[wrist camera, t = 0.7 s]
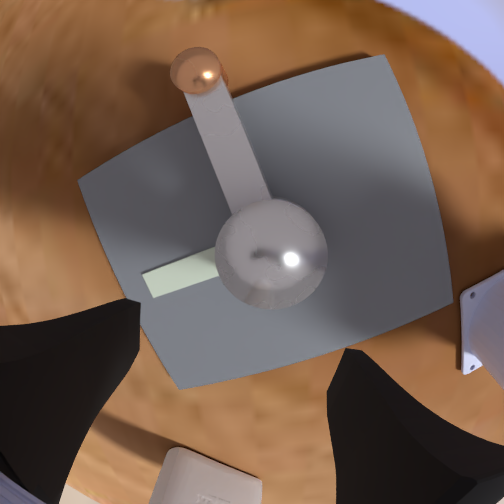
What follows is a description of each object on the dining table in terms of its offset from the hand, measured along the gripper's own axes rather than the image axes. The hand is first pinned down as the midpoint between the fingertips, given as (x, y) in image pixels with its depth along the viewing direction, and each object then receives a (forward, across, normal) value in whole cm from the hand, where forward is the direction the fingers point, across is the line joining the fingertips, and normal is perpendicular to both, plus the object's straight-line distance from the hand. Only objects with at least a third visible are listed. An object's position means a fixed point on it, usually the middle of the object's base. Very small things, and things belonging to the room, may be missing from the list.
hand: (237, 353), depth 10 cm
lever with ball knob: (+6, +2, -5) cm, 9 cm away
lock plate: (+9, 0, -2) cm, 9 cm away
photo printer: (+9, 0, +22) cm, 23 cm away
